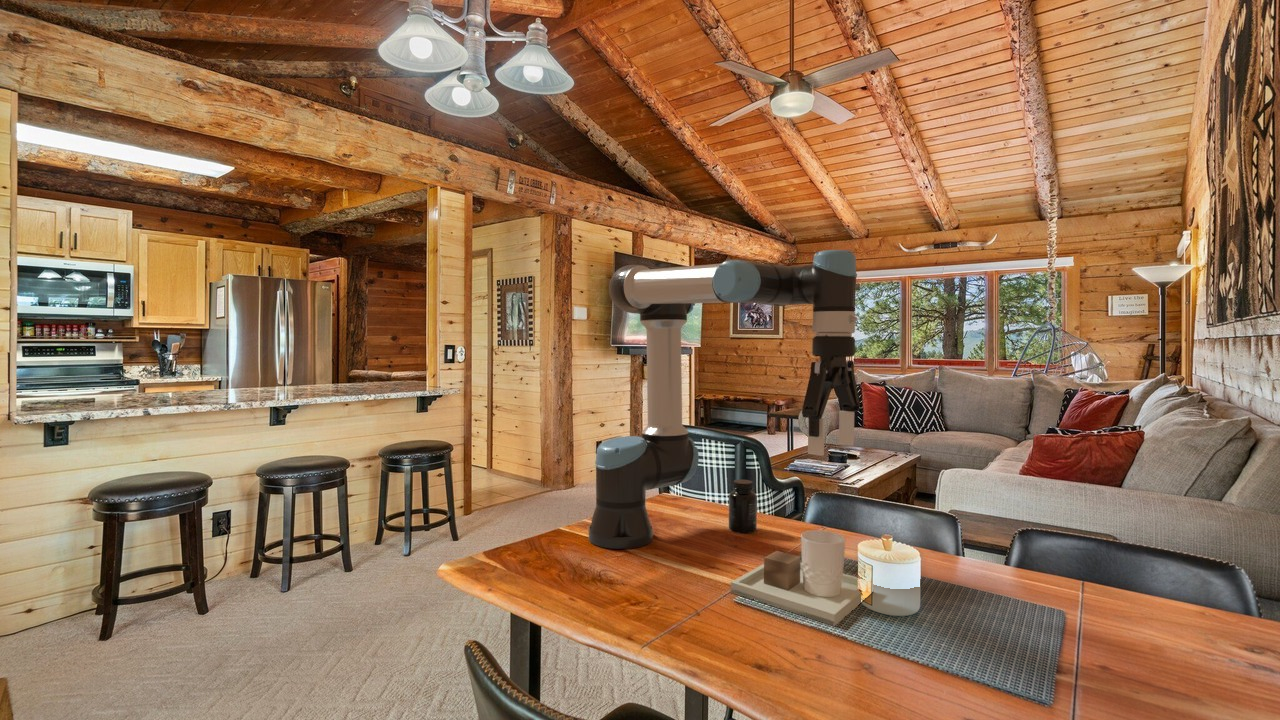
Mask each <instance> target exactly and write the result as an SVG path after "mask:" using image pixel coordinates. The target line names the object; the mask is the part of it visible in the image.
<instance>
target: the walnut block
mask: <svg viewBox="0 0 1280 720" xmlns="http://www.w3.org/2000/svg"><path fill="white" fill-rule="evenodd" d="M800 562H801V563H802V556H798V555H794V554H791V553H787V552H783V551H780V550H775V551H774V552H772V553H770V554H768V555H766V556H764V557H763V564H764V584H767V585H770V586H774V587H777V588H780V589H784V590H787V591H788V590H790V589H791V588H793V587H794V586H796V585H797V584H799V583H800Z"/></svg>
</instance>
